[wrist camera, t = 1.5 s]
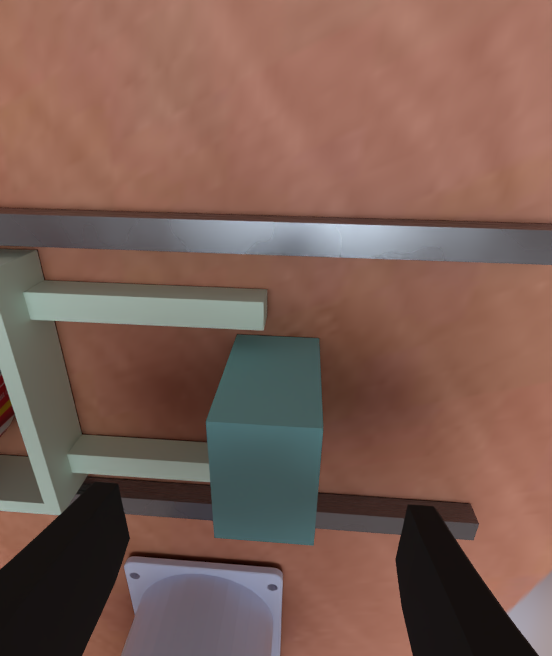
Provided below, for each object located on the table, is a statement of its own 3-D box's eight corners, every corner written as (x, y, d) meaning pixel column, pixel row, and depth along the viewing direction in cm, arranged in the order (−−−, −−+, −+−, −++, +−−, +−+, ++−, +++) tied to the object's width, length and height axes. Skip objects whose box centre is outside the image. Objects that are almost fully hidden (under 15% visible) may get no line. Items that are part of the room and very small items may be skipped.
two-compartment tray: (308, 485, 18) (308, 604, 13) (-120, 456, 19) (-252, 555, 15) (324, 260, 14) (332, 324, 9) (-235, 240, 15) (-475, 288, 10)
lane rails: (465, 520, 18) (473, 540, 17) (-68, 481, 20) (-86, 497, 19) (557, 224, 12) (577, 231, 12) (-201, 201, 14) (-235, 206, 13)
